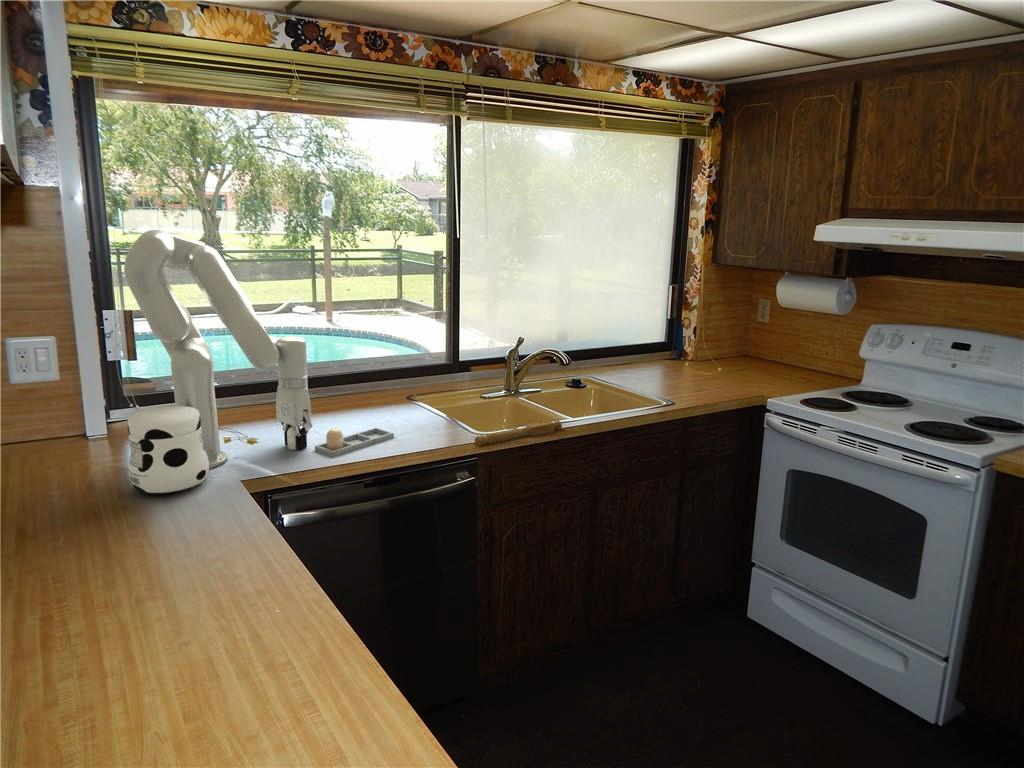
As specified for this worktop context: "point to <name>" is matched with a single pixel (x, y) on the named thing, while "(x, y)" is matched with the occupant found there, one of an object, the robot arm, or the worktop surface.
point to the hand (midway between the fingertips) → (295, 445)
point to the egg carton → (356, 442)
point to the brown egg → (334, 439)
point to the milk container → (166, 450)
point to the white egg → (292, 438)
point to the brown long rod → (520, 432)
